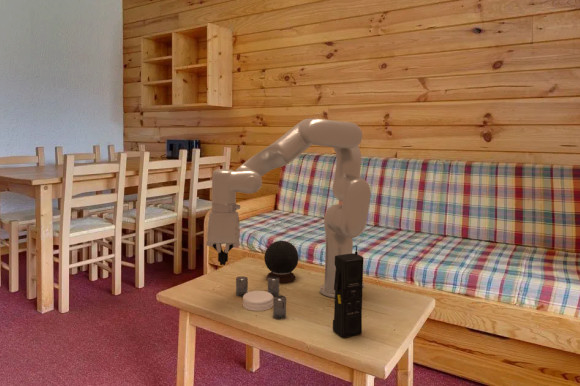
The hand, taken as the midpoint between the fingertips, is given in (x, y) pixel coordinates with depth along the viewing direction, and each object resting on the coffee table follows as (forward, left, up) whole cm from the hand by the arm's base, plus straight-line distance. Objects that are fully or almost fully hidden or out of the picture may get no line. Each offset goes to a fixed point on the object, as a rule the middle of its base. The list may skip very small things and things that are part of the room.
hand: (222, 263), depth 145 cm
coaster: (-11, 0, -15) cm, 18 cm away
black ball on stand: (-19, -26, -14) cm, 36 cm away
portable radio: (-37, +20, -14) cm, 45 cm away
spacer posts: (-11, 0, -14) cm, 18 cm away
